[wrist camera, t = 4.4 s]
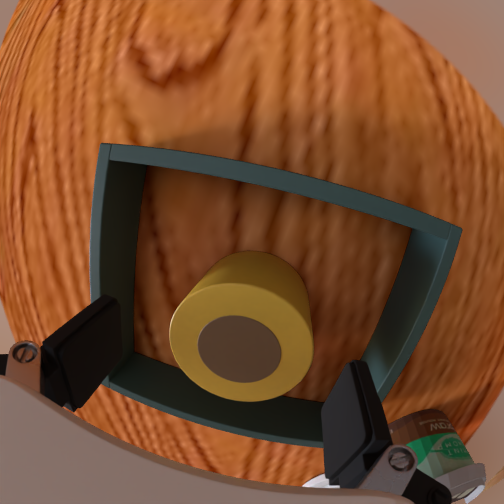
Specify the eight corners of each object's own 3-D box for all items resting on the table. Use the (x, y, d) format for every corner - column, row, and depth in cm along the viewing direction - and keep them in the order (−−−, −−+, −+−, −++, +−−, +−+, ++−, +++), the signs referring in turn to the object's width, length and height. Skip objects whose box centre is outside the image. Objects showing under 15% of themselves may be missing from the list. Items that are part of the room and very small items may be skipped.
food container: (477, 396, 16) (515, 464, 7) (446, 436, 18) (470, 502, 8) (381, 400, 17) (409, 505, 8) (351, 443, 19) (360, 533, 9)
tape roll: (322, 266, 15) (335, 305, 10) (291, 357, 17) (289, 413, 12) (209, 238, 16) (174, 264, 11) (194, 333, 17) (165, 380, 13)
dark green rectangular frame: (426, 216, 13) (463, 228, 10) (340, 411, 18) (345, 449, 14) (139, 148, 15) (99, 142, 11) (126, 355, 19) (101, 384, 15)
